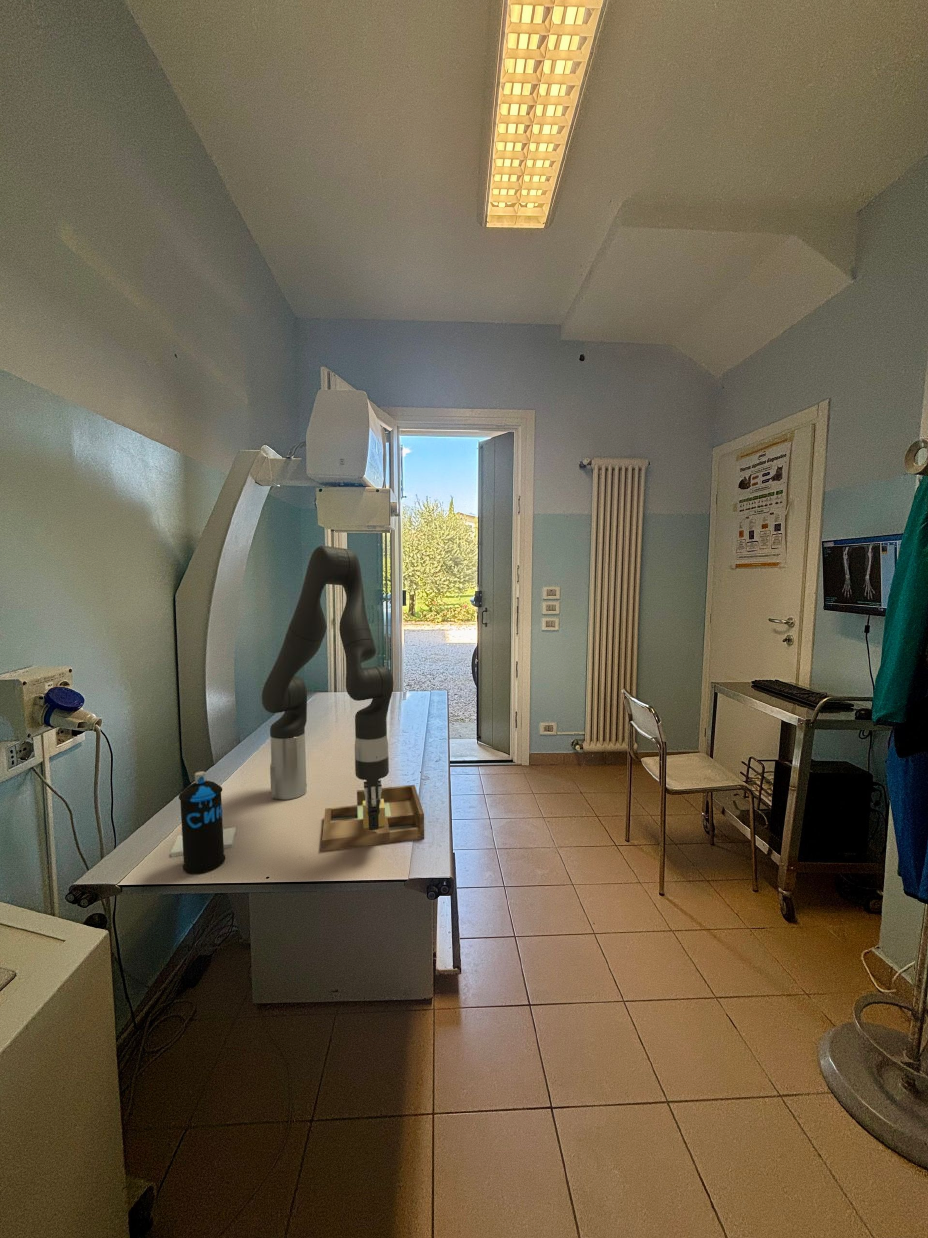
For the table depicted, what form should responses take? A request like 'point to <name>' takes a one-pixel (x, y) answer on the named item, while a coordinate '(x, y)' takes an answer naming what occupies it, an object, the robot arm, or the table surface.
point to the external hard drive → (227, 840)
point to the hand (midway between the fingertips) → (373, 828)
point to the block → (380, 817)
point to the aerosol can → (202, 826)
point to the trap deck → (399, 826)
